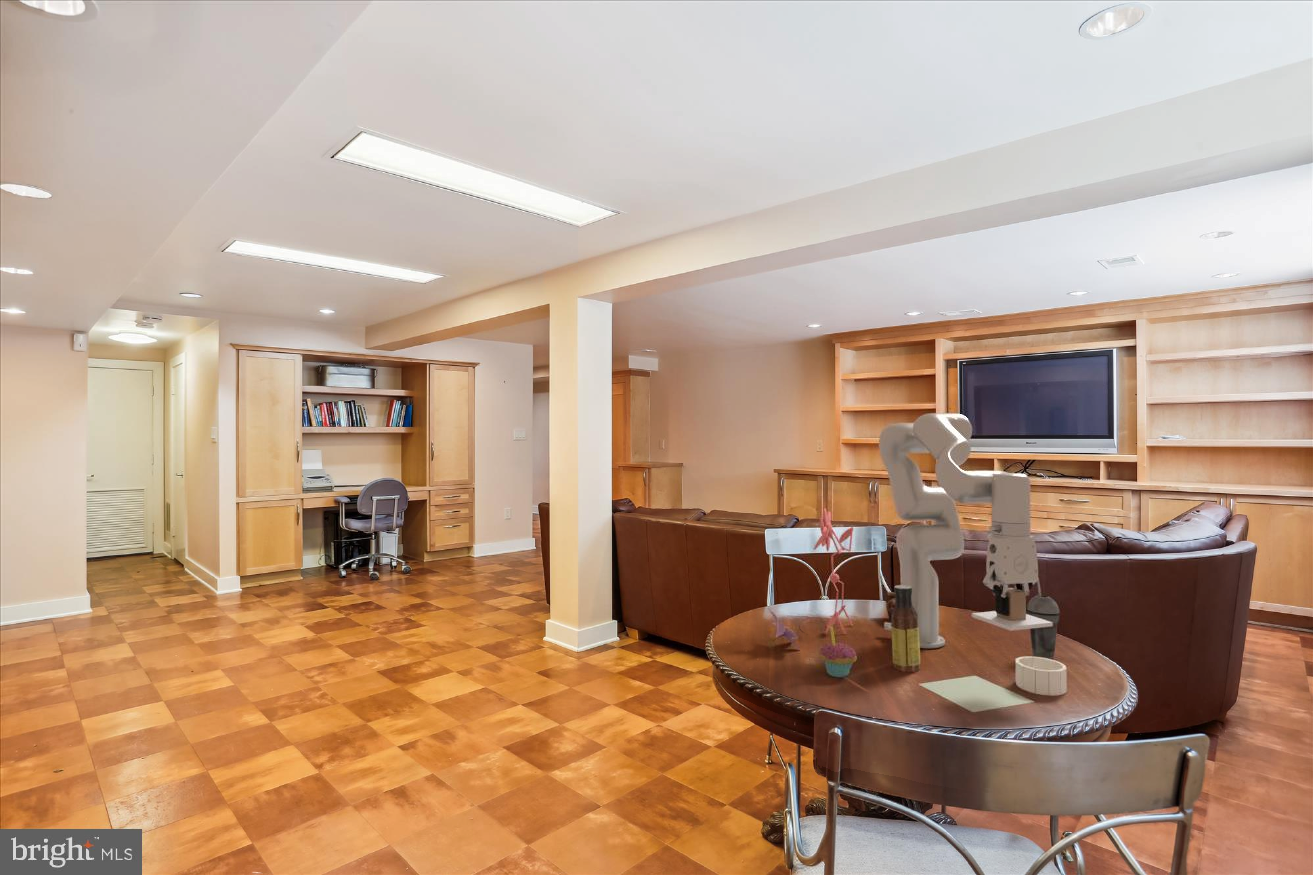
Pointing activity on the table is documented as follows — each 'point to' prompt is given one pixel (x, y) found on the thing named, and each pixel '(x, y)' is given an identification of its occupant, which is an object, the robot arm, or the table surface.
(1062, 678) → the bowl
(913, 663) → the sauce bottle
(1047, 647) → the beverage cup
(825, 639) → the table surface
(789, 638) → the lily
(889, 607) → the decorative turtle
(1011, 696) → the mat
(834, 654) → the cupcake
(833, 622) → the figurine
